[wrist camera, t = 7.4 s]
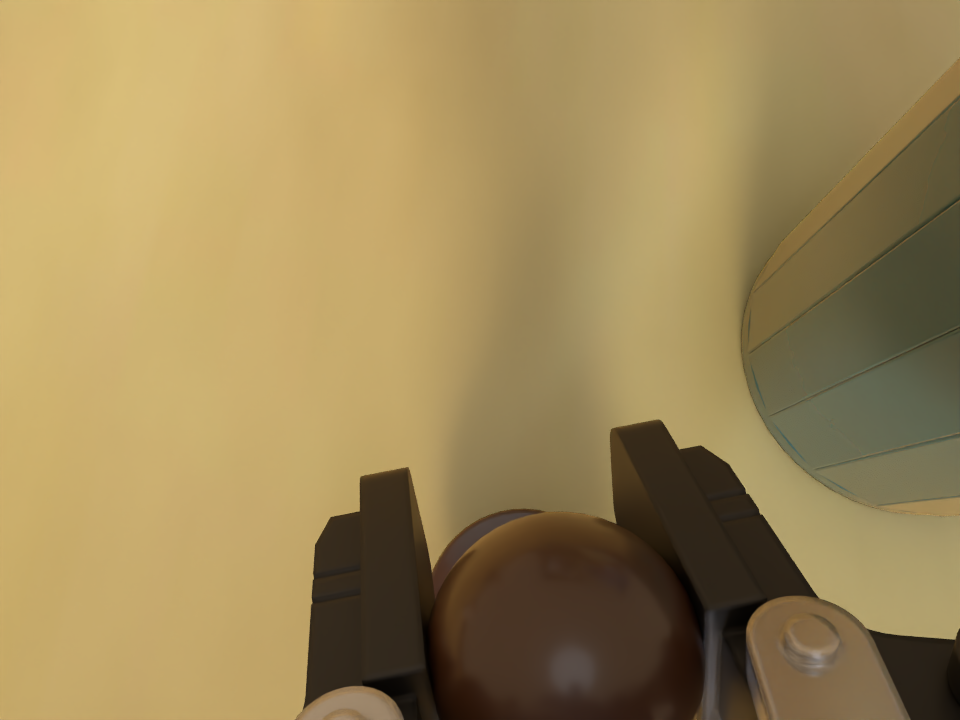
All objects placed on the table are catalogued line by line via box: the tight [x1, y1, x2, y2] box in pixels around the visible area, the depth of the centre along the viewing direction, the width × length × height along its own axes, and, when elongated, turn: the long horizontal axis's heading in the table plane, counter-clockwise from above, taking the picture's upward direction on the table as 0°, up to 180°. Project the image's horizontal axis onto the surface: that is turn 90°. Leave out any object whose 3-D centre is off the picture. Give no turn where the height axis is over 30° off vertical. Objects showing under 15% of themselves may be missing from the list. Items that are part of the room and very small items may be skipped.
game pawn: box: [426, 509, 705, 720], centre depth 12 cm, size 4×4×9 cm
